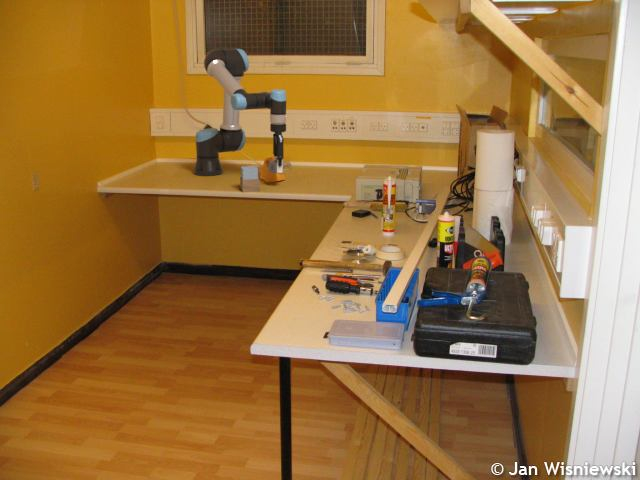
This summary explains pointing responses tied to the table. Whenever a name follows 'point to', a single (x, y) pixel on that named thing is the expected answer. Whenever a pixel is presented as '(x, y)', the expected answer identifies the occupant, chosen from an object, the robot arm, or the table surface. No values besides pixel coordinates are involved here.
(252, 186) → the tower bottom
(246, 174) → the tower top
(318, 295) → the table surface
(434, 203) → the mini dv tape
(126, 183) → the table surface
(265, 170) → the bracket
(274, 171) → the dice cube
